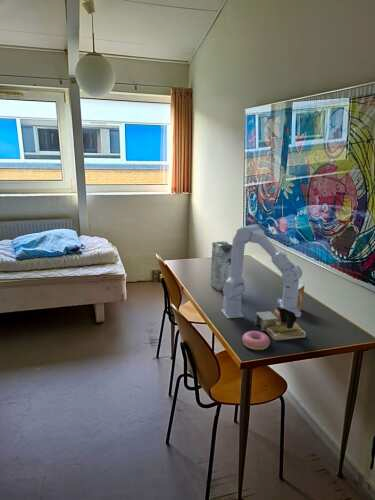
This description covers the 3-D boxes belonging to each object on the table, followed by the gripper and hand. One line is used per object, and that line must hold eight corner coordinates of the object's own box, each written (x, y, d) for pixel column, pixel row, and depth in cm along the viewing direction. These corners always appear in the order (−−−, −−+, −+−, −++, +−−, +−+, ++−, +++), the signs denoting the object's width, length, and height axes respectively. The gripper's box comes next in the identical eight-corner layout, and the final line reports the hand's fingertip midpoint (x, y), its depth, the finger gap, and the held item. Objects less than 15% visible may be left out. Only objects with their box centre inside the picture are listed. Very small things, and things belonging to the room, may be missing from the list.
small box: (296, 314, 173) (299, 289, 169) (283, 311, 176) (286, 286, 173) (302, 309, 179) (304, 284, 176) (289, 306, 183) (292, 281, 179)
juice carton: (217, 291, 199) (220, 243, 192) (208, 285, 208) (210, 239, 201) (231, 289, 202) (234, 242, 195) (222, 283, 212) (224, 238, 205)
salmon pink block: (258, 323, 162) (259, 310, 160) (274, 322, 164) (276, 309, 162) (263, 329, 157) (264, 315, 155) (280, 327, 159) (281, 314, 157)
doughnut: (265, 337, 150) (266, 328, 149) (273, 351, 140) (274, 342, 139) (239, 337, 150) (239, 328, 149) (245, 352, 139) (245, 342, 138)
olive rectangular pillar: (279, 335, 150) (280, 326, 149) (274, 330, 153) (275, 322, 152) (297, 333, 152) (299, 325, 152) (292, 329, 156) (294, 321, 155)
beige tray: (266, 332, 155) (267, 327, 154) (296, 329, 158) (296, 324, 158) (274, 340, 148) (275, 335, 147) (305, 337, 152) (305, 331, 151)
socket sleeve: (254, 323, 163) (255, 312, 161) (269, 322, 164) (270, 311, 163) (262, 331, 155) (263, 319, 154) (277, 329, 157) (278, 318, 156)
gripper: (272, 289, 154) (269, 319, 158) (291, 302, 141) (288, 334, 144) (286, 288, 156) (283, 317, 160) (307, 301, 143) (303, 332, 146)
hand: (286, 325), depth 152 cm, fingers closed on olive rectangular pillar, 4 cm apart
